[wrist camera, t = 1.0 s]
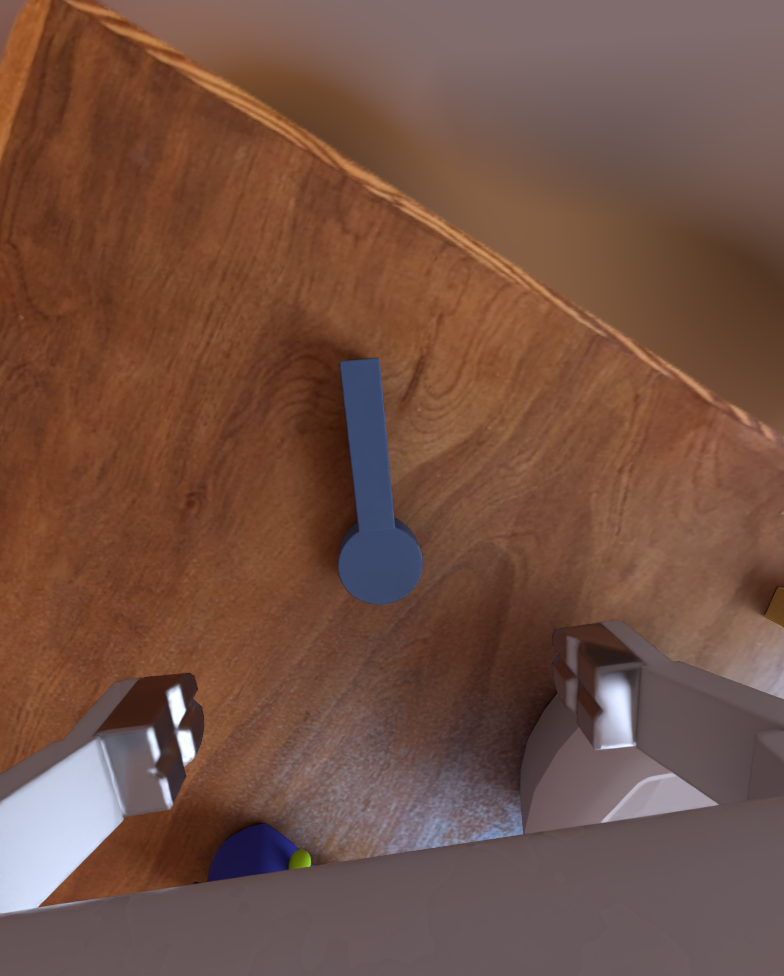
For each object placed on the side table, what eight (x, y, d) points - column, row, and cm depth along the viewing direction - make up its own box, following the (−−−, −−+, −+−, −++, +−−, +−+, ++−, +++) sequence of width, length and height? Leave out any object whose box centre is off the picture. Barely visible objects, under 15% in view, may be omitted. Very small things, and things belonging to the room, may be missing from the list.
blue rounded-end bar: (315, 368, 22) (308, 363, 19) (402, 361, 23) (408, 354, 20) (344, 594, 25) (342, 618, 22) (421, 585, 26) (428, 608, 23)
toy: (233, 784, 29) (165, 899, 29) (219, 861, 24) (136, 1003, 24) (369, 829, 32) (309, 933, 32) (383, 906, 27) (312, 1032, 27)
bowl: (751, 669, 29) (931, 791, 20) (658, 856, 32) (775, 1034, 23) (531, 620, 27) (620, 732, 18) (454, 826, 30) (495, 1012, 21)
